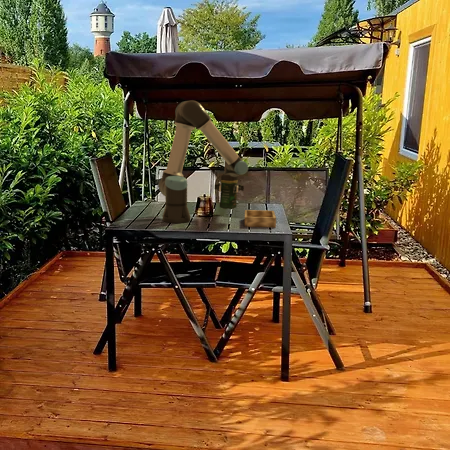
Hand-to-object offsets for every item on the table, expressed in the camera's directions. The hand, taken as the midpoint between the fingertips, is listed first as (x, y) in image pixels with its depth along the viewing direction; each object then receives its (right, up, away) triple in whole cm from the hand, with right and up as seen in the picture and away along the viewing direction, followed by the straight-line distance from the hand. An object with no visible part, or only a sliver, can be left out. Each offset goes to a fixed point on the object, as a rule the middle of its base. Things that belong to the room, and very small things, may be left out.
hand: (228, 189), depth 243 cm
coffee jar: (0, -10, +7) cm, 12 cm away
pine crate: (+17, -17, +8) cm, 25 cm away
